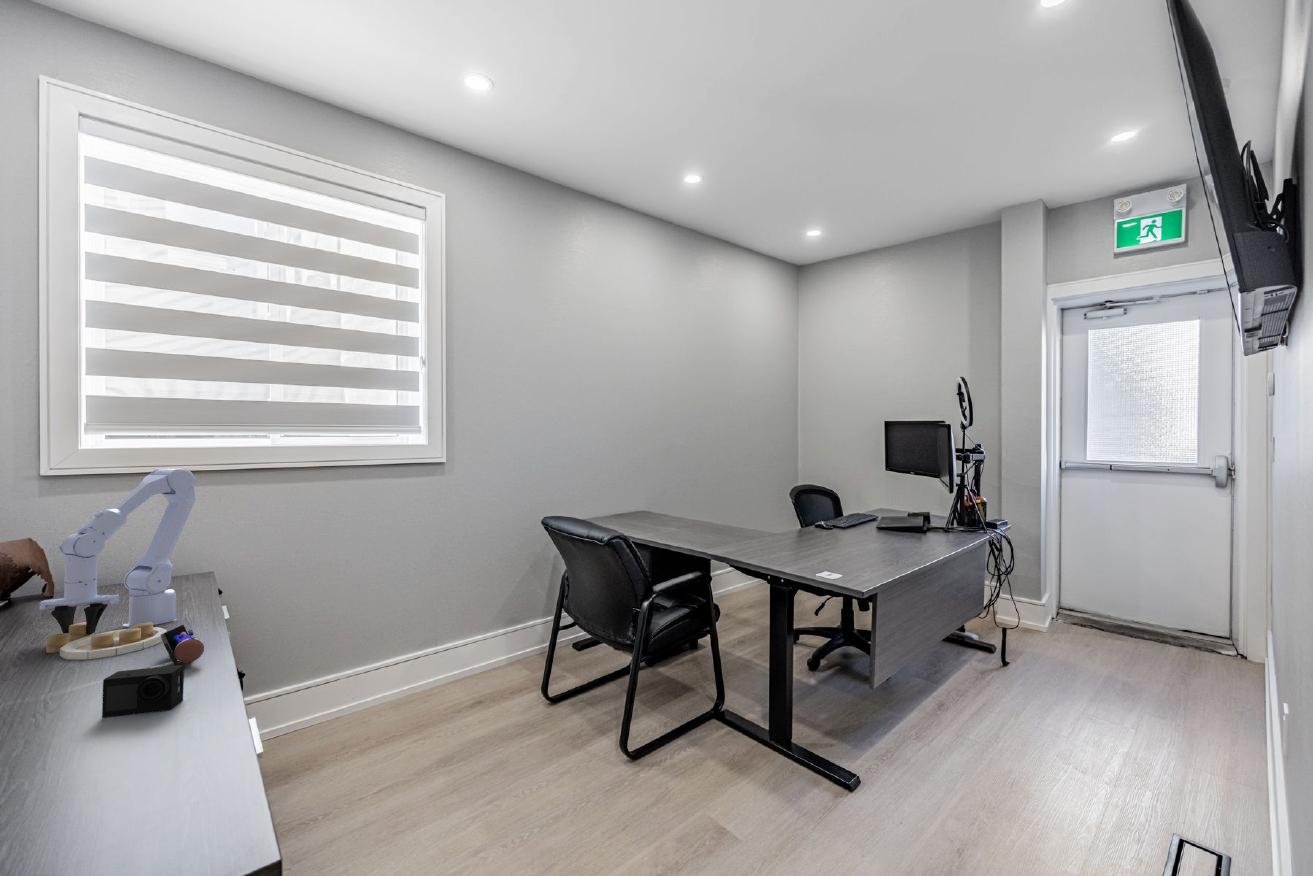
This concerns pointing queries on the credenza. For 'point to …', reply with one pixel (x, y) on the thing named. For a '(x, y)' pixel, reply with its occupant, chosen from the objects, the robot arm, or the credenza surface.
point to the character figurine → (182, 645)
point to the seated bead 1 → (102, 641)
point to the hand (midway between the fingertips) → (79, 634)
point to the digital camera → (142, 691)
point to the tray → (83, 646)
